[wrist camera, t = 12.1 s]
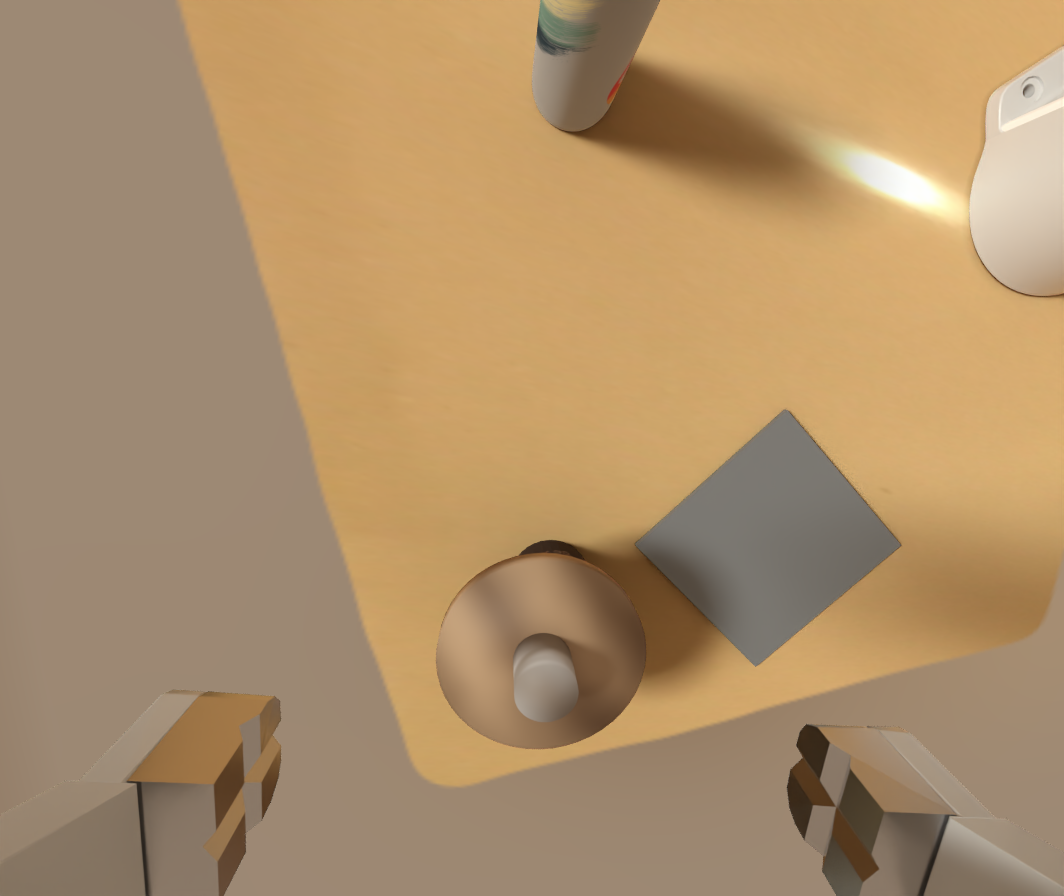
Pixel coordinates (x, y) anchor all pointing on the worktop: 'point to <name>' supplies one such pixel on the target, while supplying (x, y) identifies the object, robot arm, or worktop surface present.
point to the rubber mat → (769, 539)
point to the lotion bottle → (584, 56)
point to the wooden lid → (540, 651)
